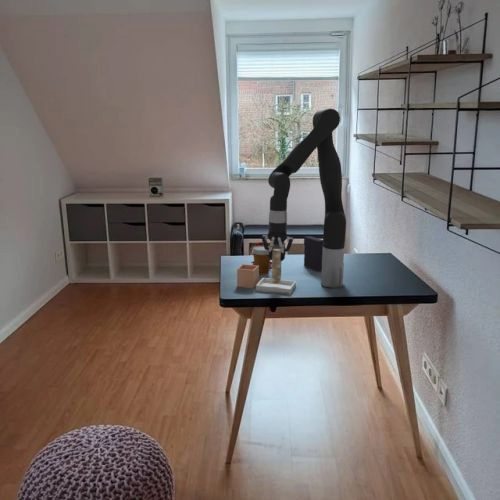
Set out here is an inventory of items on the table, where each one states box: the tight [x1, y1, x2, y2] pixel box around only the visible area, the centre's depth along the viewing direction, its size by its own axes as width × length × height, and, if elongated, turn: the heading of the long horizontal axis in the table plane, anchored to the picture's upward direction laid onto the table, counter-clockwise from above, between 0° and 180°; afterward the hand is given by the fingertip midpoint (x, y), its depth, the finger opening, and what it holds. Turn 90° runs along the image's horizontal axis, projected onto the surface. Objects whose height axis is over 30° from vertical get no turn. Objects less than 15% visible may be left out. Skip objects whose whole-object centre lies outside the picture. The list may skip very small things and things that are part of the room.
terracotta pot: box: [236, 263, 260, 289], centre depth 221 cm, size 8×8×8 cm
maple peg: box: [270, 248, 282, 283], centre depth 215 cm, size 4×4×14 cm
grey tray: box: [255, 277, 297, 296], centre depth 217 cm, size 15×11×2 cm
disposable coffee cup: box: [251, 245, 271, 275], centre depth 237 cm, size 10×10×12 cm
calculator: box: [303, 235, 323, 272], centre depth 245 cm, size 11×4×15 cm, turn 34°
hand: (276, 259), depth 214 cm, fingers closed on maple peg, 4 cm apart
